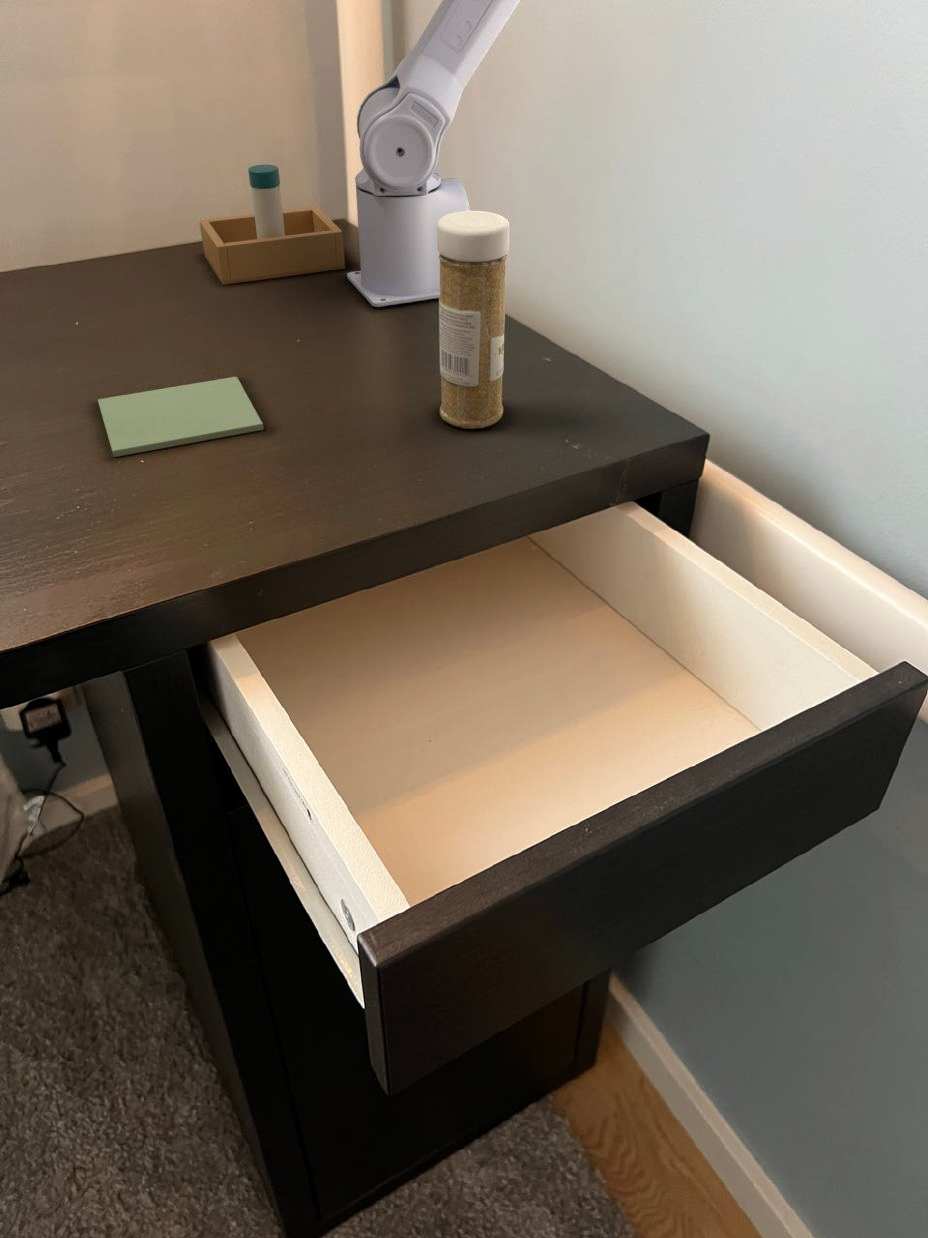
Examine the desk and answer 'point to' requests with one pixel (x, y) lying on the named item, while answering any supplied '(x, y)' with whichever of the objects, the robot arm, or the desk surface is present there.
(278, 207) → the white bottle teal cap
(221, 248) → the box
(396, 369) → the desk surface
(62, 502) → the desk surface
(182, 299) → the desk surface
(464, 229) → the spice jar
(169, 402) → the mat
